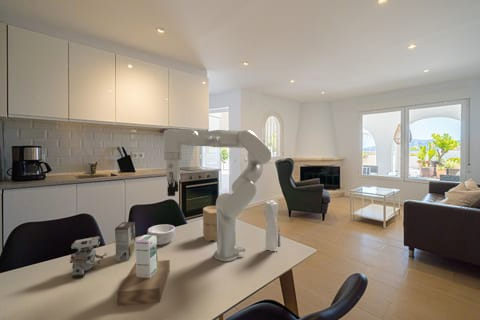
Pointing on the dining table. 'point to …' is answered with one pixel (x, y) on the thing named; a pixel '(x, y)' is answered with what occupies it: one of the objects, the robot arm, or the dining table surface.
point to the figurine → (84, 255)
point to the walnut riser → (144, 286)
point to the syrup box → (146, 256)
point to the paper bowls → (162, 233)
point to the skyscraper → (272, 225)
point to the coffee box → (125, 241)
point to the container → (210, 223)
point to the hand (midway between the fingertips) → (173, 193)
